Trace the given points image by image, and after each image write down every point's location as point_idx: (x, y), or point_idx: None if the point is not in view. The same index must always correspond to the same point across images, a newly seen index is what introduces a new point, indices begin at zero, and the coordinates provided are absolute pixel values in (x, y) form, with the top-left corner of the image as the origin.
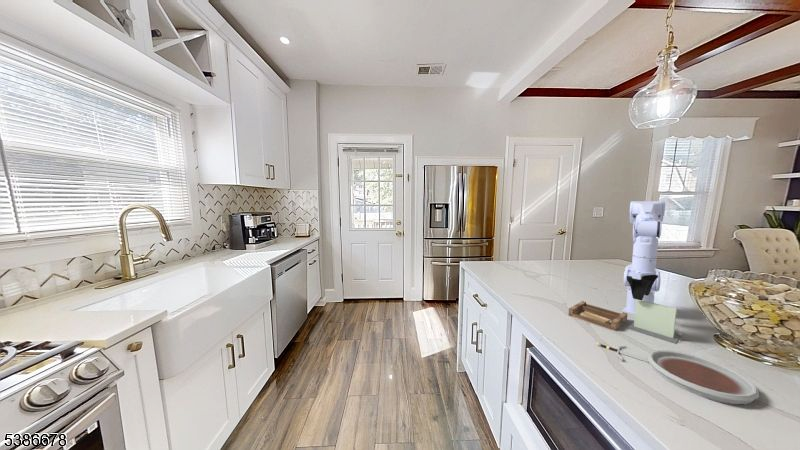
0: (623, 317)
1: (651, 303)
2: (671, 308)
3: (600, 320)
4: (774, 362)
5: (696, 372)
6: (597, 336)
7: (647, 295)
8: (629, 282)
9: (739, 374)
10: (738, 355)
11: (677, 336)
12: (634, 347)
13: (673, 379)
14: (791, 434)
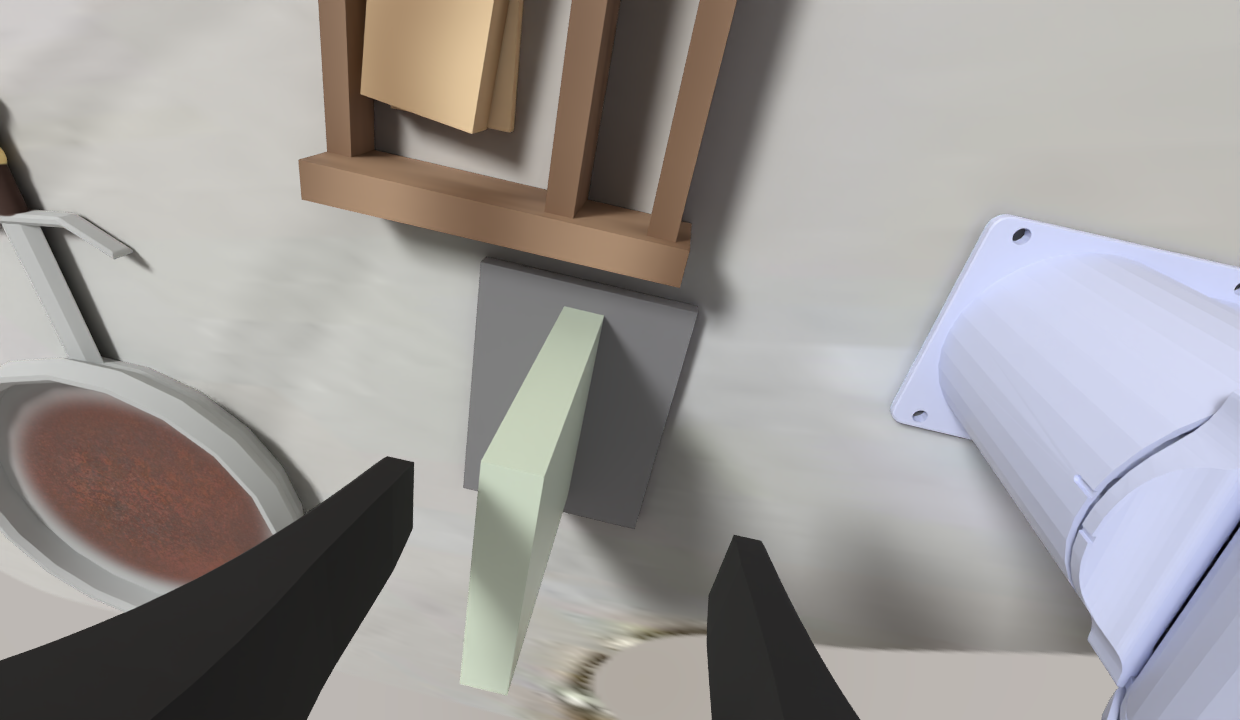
0: (544, 253)
1: (489, 570)
2: (469, 667)
3: (375, 48)
4: (604, 716)
5: (165, 502)
6: (127, 60)
7: (711, 594)
8: (70, 646)
9: None
10: (575, 651)
11: (585, 509)
12: (211, 294)
13: None
14: (77, 600)
